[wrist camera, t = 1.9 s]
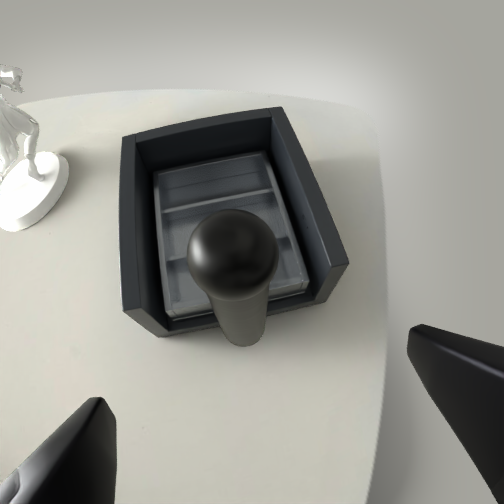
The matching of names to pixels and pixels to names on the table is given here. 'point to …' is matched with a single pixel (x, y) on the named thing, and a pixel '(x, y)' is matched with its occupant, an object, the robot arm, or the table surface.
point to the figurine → (25, 166)
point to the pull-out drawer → (226, 243)
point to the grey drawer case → (206, 148)
